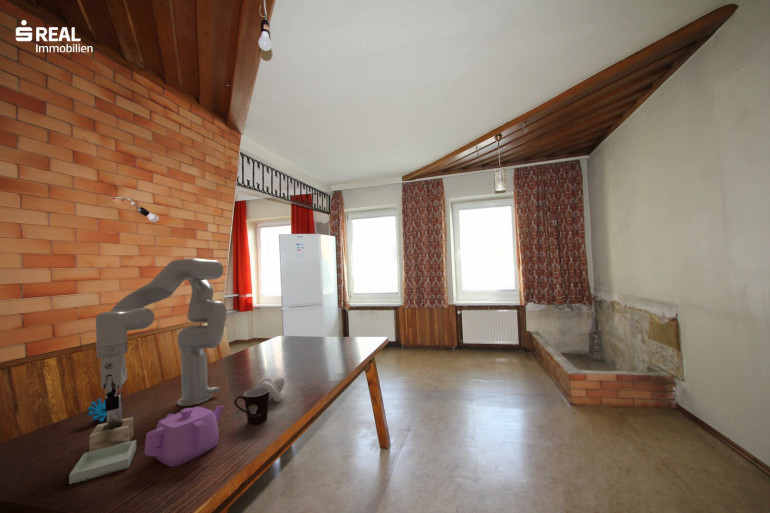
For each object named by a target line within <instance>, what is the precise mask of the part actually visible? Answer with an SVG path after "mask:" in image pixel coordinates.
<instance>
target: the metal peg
mask: <svg viewBox="0 0 770 513" xmlns="http://www.w3.org/2000/svg"><path fill="white" fill-rule="evenodd" d="M121 388H122V386H121V387H118V395H117V396H119V408H118V409H115V410H110V411H107V417H106V419H107V421H106V423H107V430H110V429H114V428H118V427H121V426H122V419H123V417H122V415H123V414H122V413H123V412H122V410H123V409H122V408H123V407H122V403H121V391H122V389H121ZM112 390H114V391H115V389H112Z"/></svg>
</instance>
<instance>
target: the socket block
mask: <svg viewBox="0 0 770 513" xmlns="http://www.w3.org/2000/svg"><path fill="white" fill-rule="evenodd" d="M133 436H134V416H132V417H127V418H122V426H121V427H118V428H114V429H110V430H107V422H104V423H103V422H102V423H100V424H97V425H96V426H95V427H94V429H93V430H92V432H91V433H90V435H89V440H88V441H89V444H88V445H89V446H88V450H89V451H88V452H90V451H94V450H98V449H102V448H106V447H110V446H114V445H118V444H122V443H126V442H130V441H132V439H133Z"/></svg>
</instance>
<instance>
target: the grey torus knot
mask: <svg viewBox="0 0 770 513" xmlns="http://www.w3.org/2000/svg"><path fill="white" fill-rule="evenodd" d="M285 382H286V381H285V378H283V377H282V376H281V377H280V376H279V377H277V378H276V379H275V380H274V379H273V378H271V377H267V376H266V377H263V378H261V379H260V380H259V381H258V383H257V384H256V387H255V388H268V389H269V390H270V391H269V402H270V401H271V400H272V401H274V402H275V403H279V402H281V401H282V399H283V396H282V393H281V391H282V390H283V388H284V387H285Z"/></svg>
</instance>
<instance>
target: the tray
mask: <svg viewBox="0 0 770 513" xmlns="http://www.w3.org/2000/svg"><path fill="white" fill-rule="evenodd" d="M136 450H137V439H134V440H131V441H130V442H126V443H122V444H118V445H114V446H110V447H106V448H102V449H98V450H94V451H90V452H89V451H86V452H84V453H83V454H82V456H81V457H80V459H78V462H77V463H76V464H75V466H74V467H73V468H72V470H71V471H70V473H69V475H68V479H69V480H68V484H70V485H73V484H72V483H74V484H77V483H80V481H81V482H84V481H88V480H91V479H95V478H98V477H101V476H106V475H109V474H112V473H115V472H118V471H123V470H125V469H129V468H130V465H131V463H132V461H133V457H134V456H135V453H136ZM87 479H88V480H87ZM76 482H77V483H76Z"/></svg>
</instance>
